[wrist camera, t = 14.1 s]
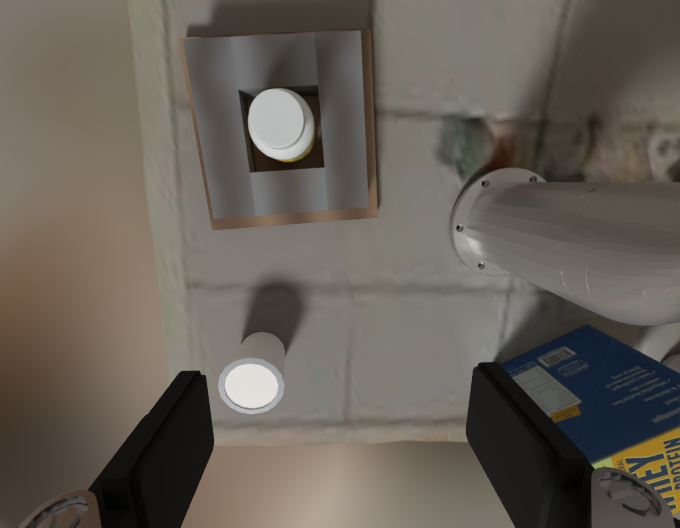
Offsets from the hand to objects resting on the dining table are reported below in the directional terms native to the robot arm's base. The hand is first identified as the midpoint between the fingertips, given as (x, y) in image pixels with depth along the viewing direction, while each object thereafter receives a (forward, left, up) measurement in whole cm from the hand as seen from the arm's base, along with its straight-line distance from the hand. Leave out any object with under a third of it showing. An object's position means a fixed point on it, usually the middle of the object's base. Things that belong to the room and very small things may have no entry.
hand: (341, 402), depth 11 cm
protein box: (-29, +21, -27) cm, 45 cm away
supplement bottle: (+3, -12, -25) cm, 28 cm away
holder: (+3, -12, -27) cm, 29 cm away
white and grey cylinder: (+9, +13, -27) cm, 31 cm away
